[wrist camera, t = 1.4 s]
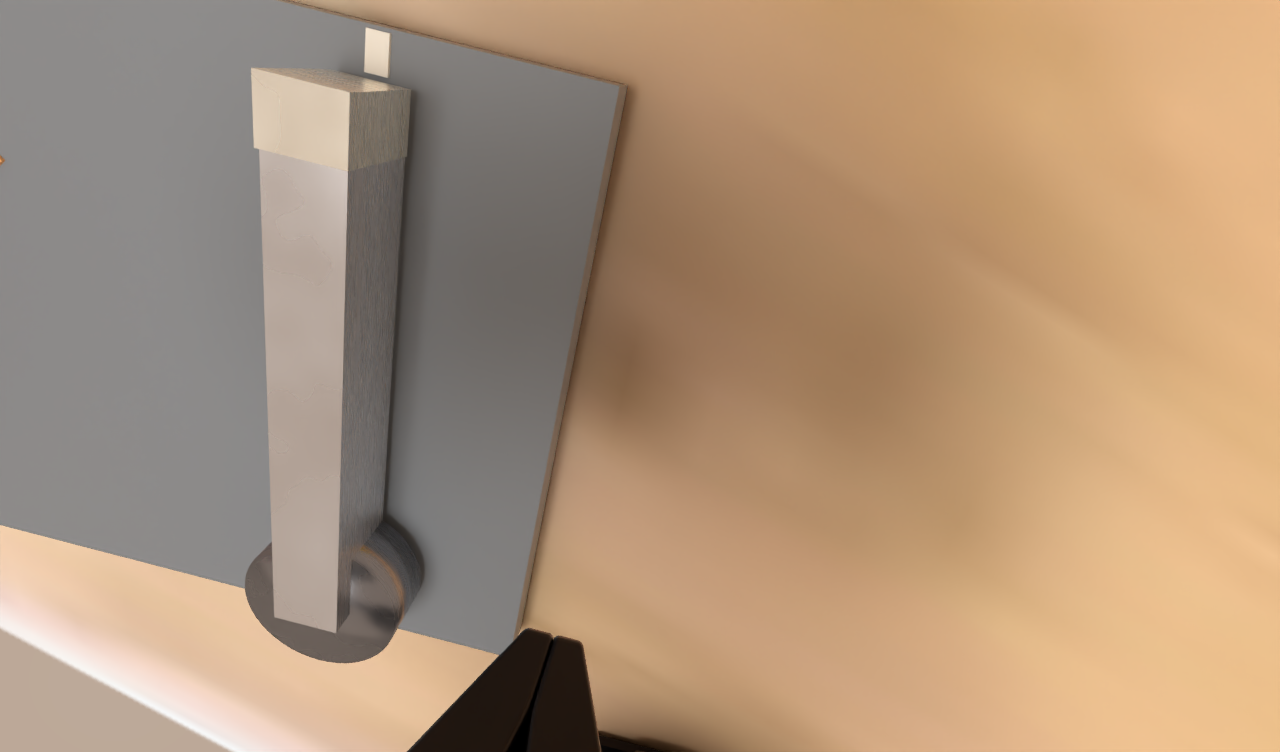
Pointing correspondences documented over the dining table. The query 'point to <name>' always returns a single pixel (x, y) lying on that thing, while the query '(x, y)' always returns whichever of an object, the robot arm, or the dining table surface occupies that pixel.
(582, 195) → the dial plate
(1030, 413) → the dining table surface
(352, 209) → the dial lever
